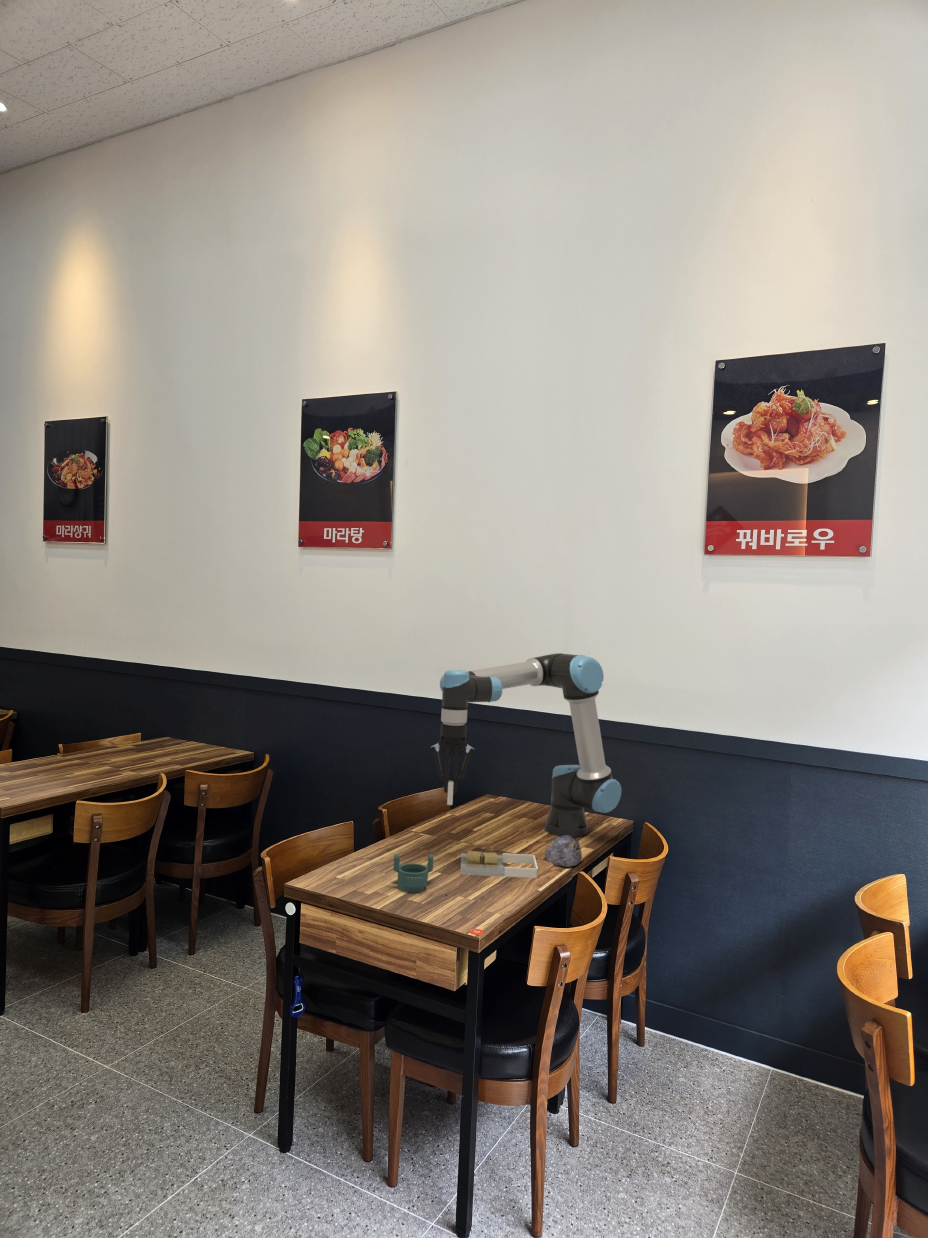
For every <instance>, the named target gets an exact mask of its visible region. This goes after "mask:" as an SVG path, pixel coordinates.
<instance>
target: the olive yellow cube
mask: <svg viewBox="0 0 928 1238" xmlns="http://www.w3.org/2000/svg"><path fill="white" fill-rule="evenodd" d="M466 853H467V855H466V864H482V853H483V851H476V850H475V851H474V850H468V851H467V852H466Z"/></svg>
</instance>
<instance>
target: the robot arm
mask: <svg viewBox="0 0 928 1238" xmlns="http://www.w3.org/2000/svg"><path fill="white" fill-rule="evenodd" d="M603 682H604V670H603V668H602V665H601V664H600V662H599V661H598V660H596V659H595V658H593V657H591V656H588V655H585V654H568V653H562V652H561V653H559V652H558V653H557V652H556V653H551V654H546V655H540V656H536V657H531V658H528V659H527V660H526V661H525V662H524V661H523V662H517V663H510V664H505V665H498V666H492V667H488V668H487V667H486V668H480V669H474V670H468V671H467V670H462V669H461V670H458V669H447V670H446V671H445V672H444V673H443V675H441V678H440V680H439V689H440V690H441V692H442V696H441V697H442V698H441V715H440V721H441V722H442V723H441V724H440V733H439V735H440V736H439V739H438V741H437V743H436V744H434V745H431V746H430V750H431V753H432V754H433V758H434V762H435V765H436V766H435V767H436V772H437V777H438V779H439V780H441V781H443V783H444V785H443V792H444V793H447V798H446V799H447V801H446V803H447V806H453V802H454V799H453V798H454V797H453V796H454V794H457V793H458V783H459V782H461V781H464V779H465V777H466V773H467V768H468V765H469V763H470V759H471V757H472V755H473V754H474V752H475V747H472V746H471V745H469V744H468V741H467V728H468V727H467V724H466V723H467V720H468V707H469V703H471V704H472V703H491V702H493V703H494V702H497V701H499V700H500V699H501V697H502V694H503V690H504V689H510V688H516V687H522V686H528V685H529V686H532V687H538V686H546V687H553V688H558V689H562V695H563V699H564V700H565V701H567V702H568V703H569V709H570V716H571V722H572V727H573V733H574V739H575V745H576V753H577V756H578V762H579V764H563V765H562V764H561V765H556V766H555V767H554V768H552V776H551V794H550V796H551V797H550V799H551V800H550V809H549V811H548V814H547V817H546V819H545V822H544V830H545V831H546V832H547V833H550V834H552V835H557V836H563V835H570V836H573V837H583V836H586V835H587V834H588V833H589V823H588V821H587V818H586V813H585V808H586V809H590V810H592V811H594V812H598V813H605V814H606V813H610V812H611V811H613V810H614V809H616V807H617V806H618V805H619V802H620V800H621V798H622V797H621V796H622V785H621V784H620V782H619V781H618V780H617V779H615V778H613V774H612V769H611V767H609V766H608V765H606V761H605V752H604V748H603V747H604V746H603V741H602V734H601V733H602V732H601V727H600V722H599V716H598V709H597V703H596V702H597V701H596V698H597V696H598V695H599V690H600V689H601V688H602V686H603ZM440 750H442V752H443V753H444V755H445V760H444V761H445V763H444V774H443V769H442V764H441V759H440V755H439V751H440ZM463 751H465V753H466V754H465V757H464V760H463V764H462V768H461V770H460V774H459V756H460V755H461V754H462V753H463ZM451 756H454V758H453V759H454V762H453V780H450V760H451ZM587 832H588V833H587ZM585 834H586V835H585ZM582 835H583V836H582Z"/></svg>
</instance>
